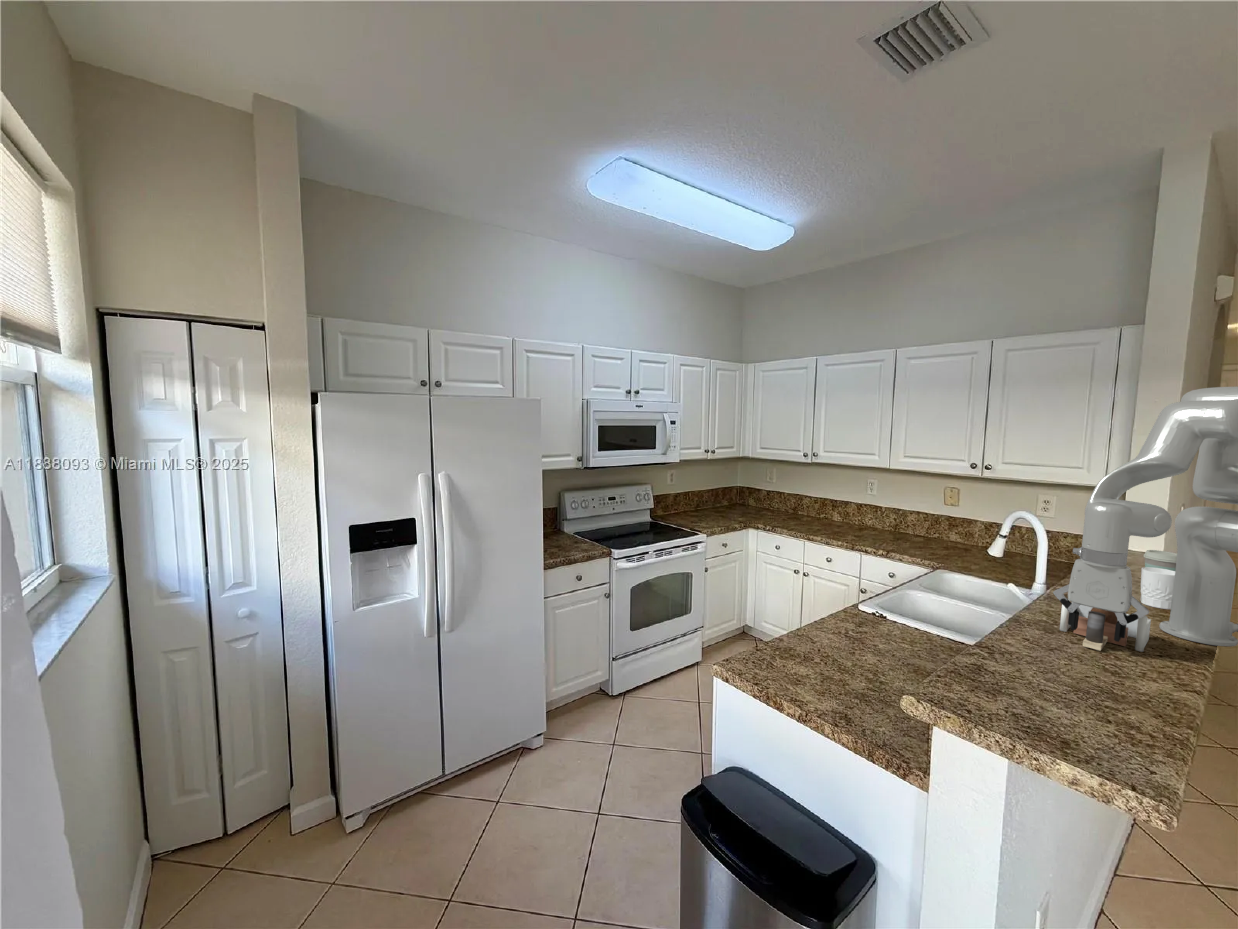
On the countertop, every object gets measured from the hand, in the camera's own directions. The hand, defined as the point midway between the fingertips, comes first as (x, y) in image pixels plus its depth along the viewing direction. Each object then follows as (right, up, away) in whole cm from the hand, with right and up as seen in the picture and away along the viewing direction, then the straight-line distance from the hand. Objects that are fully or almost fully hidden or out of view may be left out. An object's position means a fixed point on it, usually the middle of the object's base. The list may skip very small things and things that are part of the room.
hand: (1095, 633), depth 116 cm
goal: (+9, -3, +7) cm, 11 cm away
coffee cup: (+60, -1, +42) cm, 73 cm away
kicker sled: (+2, -3, +2) cm, 4 cm away
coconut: (+7, -3, +6) cm, 10 cm away
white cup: (+45, -2, +29) cm, 54 cm away
